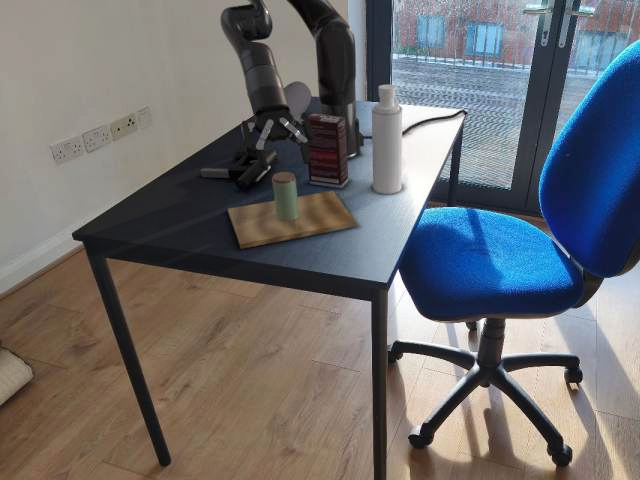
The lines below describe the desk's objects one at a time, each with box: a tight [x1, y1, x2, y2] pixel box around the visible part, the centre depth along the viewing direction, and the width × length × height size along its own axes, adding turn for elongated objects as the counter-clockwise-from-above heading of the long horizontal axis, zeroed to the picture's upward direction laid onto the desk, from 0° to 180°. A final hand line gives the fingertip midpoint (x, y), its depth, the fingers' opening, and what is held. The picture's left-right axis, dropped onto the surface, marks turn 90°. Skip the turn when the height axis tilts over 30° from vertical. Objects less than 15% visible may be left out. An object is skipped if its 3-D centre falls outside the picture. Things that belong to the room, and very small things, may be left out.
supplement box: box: [304, 112, 349, 189], centre depth 130 cm, size 9×5×16 cm, turn 71°
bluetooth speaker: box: [284, 80, 312, 126], centre depth 165 cm, size 23×9×10 cm, turn 172°
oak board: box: [227, 190, 357, 250], centre depth 119 cm, size 24×16×1 cm, turn 111°
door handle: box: [199, 148, 279, 191], centre depth 138 cm, size 3×20×16 cm
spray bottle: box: [371, 84, 403, 195], centre depth 124 cm, size 7×7×25 cm
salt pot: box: [271, 171, 299, 221], centre depth 116 cm, size 5×5×9 cm
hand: (286, 165), depth 114 cm, fingers open, 8 cm apart
